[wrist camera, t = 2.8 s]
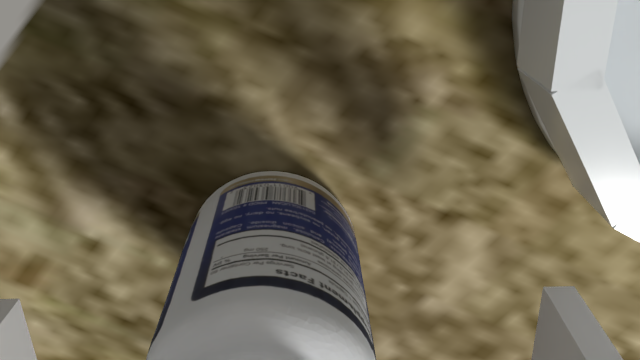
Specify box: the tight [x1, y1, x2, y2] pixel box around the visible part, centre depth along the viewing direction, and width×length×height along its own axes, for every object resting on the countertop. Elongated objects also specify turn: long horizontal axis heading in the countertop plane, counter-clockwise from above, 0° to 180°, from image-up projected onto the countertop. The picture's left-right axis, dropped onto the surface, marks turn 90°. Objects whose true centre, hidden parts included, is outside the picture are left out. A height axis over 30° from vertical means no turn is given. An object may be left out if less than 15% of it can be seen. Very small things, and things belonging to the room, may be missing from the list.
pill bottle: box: [146, 171, 376, 360], centre depth 15 cm, size 5×5×10 cm
